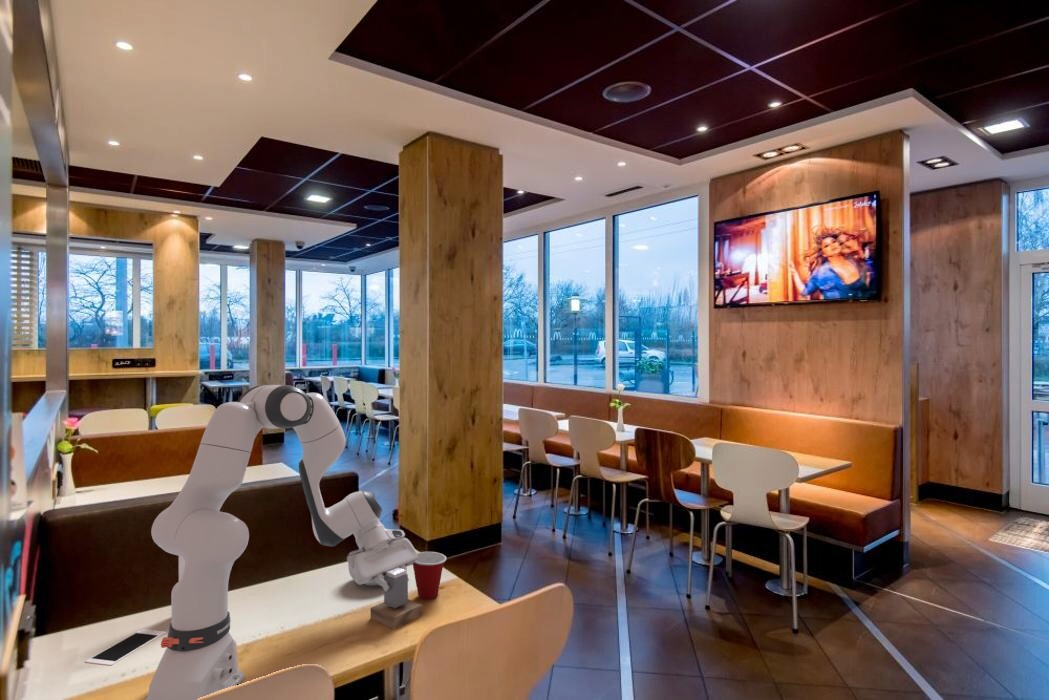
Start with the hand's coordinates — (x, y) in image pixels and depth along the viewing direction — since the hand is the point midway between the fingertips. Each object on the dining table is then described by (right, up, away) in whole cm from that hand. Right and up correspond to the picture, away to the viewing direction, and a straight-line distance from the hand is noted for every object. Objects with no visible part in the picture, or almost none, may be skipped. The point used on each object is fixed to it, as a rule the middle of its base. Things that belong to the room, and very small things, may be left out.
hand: (397, 586), depth 158 cm
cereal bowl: (-13, -9, +25) cm, 30 cm away
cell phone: (-65, -10, -15) cm, 68 cm away
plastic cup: (+6, -9, +14) cm, 18 cm away
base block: (0, -9, 0) cm, 9 cm away
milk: (-59, -9, +3) cm, 60 cm away
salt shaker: (-1, -5, 0) cm, 5 cm away
